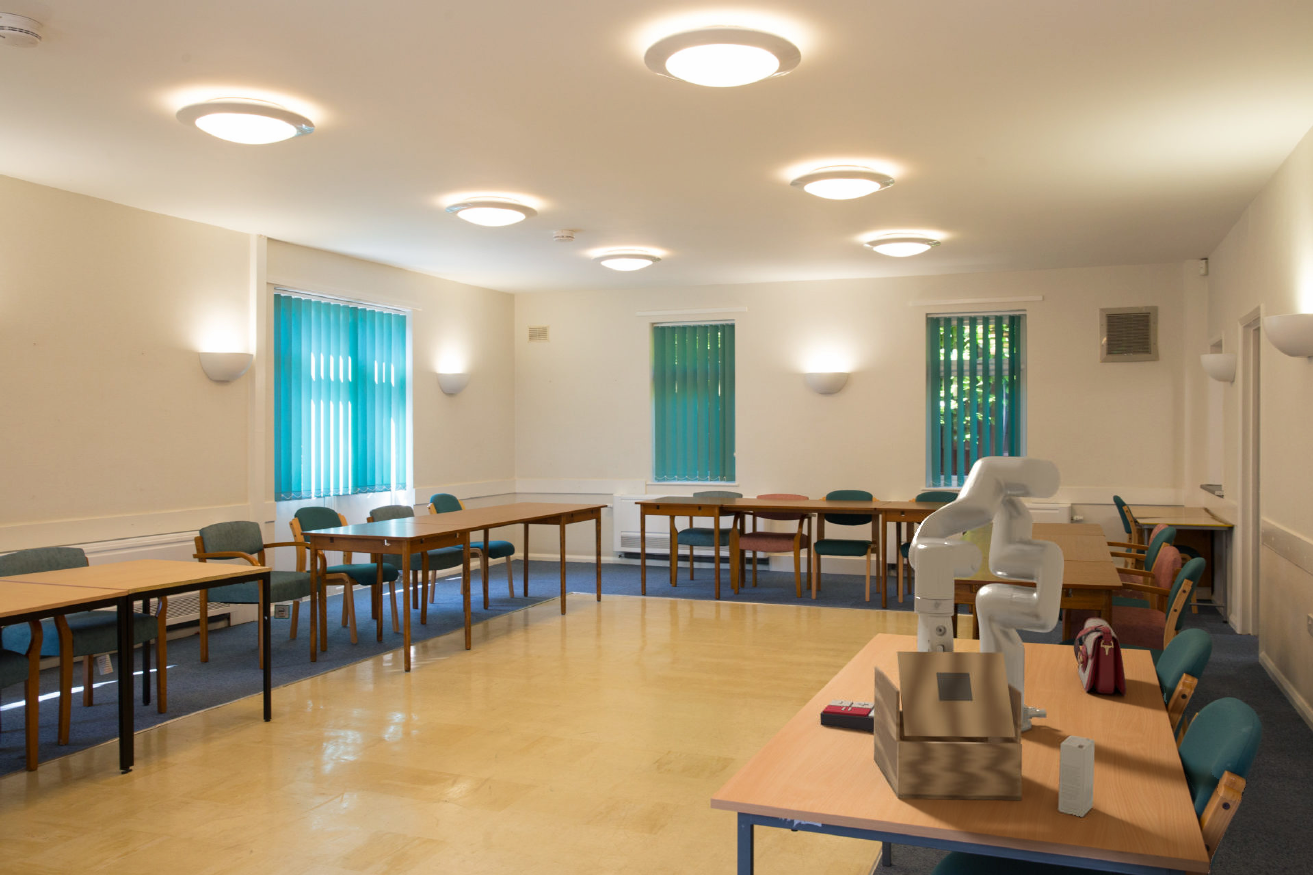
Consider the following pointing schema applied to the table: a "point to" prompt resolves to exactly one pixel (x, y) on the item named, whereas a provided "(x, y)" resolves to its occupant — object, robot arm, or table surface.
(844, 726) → the calculator
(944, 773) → the carton
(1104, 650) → the handbag
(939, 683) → the carton flap
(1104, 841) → the table surface
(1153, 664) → the table surface
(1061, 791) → the skincare box
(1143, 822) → the table surface
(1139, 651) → the table surface
